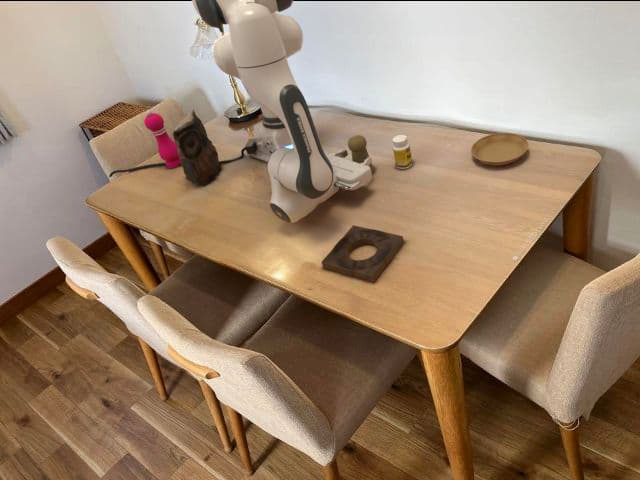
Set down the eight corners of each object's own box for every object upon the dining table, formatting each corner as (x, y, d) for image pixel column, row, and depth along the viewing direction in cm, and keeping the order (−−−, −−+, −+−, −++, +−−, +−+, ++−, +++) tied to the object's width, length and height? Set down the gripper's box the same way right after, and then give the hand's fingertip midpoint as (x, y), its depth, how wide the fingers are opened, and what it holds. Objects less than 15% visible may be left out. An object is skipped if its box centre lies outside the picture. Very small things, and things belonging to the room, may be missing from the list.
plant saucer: (460, 159, 137) (459, 151, 136) (496, 135, 142) (496, 127, 141) (502, 176, 127) (502, 168, 126) (540, 150, 132) (540, 141, 131)
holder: (322, 268, 117) (320, 262, 115) (354, 230, 124) (352, 224, 123) (374, 283, 109) (372, 276, 108) (404, 242, 117) (403, 235, 116)
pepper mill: (190, 158, 175) (163, 104, 162) (177, 169, 171) (148, 115, 158) (175, 157, 178) (147, 104, 165) (162, 168, 174) (132, 115, 161)
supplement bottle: (411, 168, 139) (407, 142, 134) (395, 170, 141) (389, 143, 135) (413, 159, 143) (409, 133, 137) (397, 160, 144) (392, 134, 139)
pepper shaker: (353, 169, 146) (344, 135, 139) (373, 164, 146) (365, 130, 138) (354, 180, 142) (345, 145, 134) (375, 175, 141) (367, 140, 134)
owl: (221, 161, 168) (195, 105, 155) (231, 175, 159) (205, 117, 146) (185, 176, 166) (157, 121, 152) (194, 192, 157) (164, 135, 143)
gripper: (347, 180, 125) (383, 153, 131) (295, 162, 137) (330, 138, 143) (353, 201, 129) (387, 173, 135) (302, 182, 142) (335, 157, 148)
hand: (357, 155), depth 139 cm, fingers open, 8 cm apart
